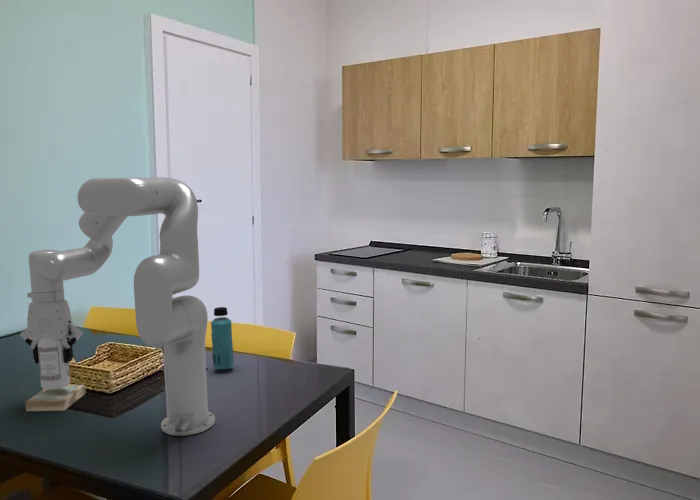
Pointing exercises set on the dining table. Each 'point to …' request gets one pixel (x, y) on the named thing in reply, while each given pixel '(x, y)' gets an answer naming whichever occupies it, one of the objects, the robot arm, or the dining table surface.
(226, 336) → the beverage bottle
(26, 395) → the dining table surface
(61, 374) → the bath foam
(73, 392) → the plinth
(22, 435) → the dining table surface
